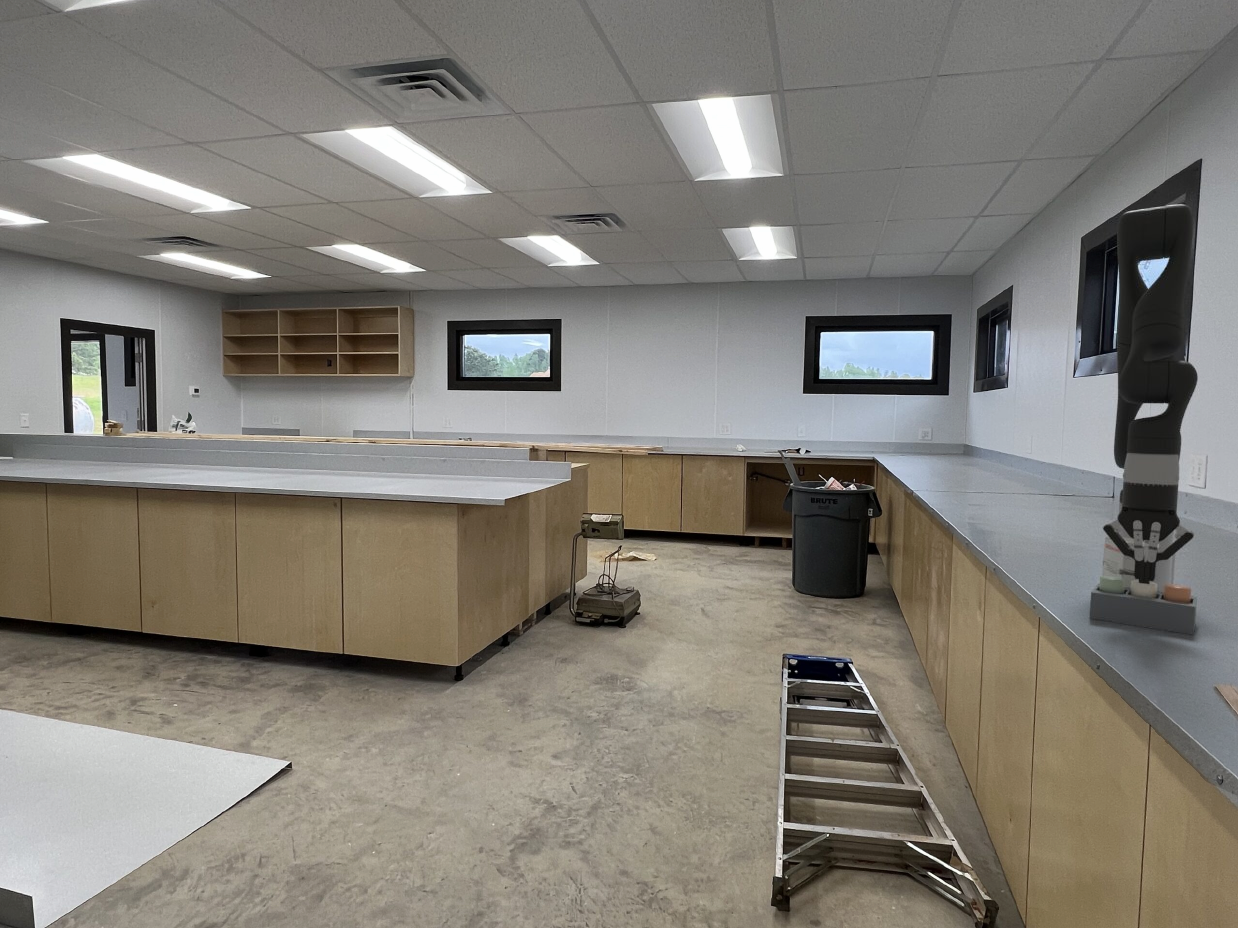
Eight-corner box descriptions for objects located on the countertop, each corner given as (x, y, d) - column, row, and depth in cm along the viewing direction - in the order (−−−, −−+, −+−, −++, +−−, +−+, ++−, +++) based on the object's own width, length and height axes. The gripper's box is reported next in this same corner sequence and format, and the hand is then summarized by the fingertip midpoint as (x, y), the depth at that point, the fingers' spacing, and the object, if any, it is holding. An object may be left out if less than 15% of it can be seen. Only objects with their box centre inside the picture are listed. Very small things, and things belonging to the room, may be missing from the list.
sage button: (1100, 592, 130) (1101, 575, 130) (1125, 595, 128) (1126, 578, 127) (1097, 595, 127) (1098, 578, 127) (1122, 599, 125) (1123, 581, 125)
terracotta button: (1163, 600, 124) (1164, 583, 124) (1190, 604, 122) (1191, 586, 122) (1162, 604, 121) (1163, 586, 121) (1189, 608, 119) (1190, 590, 119)
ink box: (1150, 609, 132) (1154, 544, 132) (1119, 607, 133) (1123, 542, 133) (1127, 598, 141) (1131, 536, 140) (1098, 596, 142) (1102, 535, 141)
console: (1096, 608, 133) (1098, 583, 132) (1195, 622, 124) (1197, 596, 123) (1089, 618, 126) (1091, 592, 125) (1193, 634, 117) (1195, 606, 116)
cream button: (1131, 596, 127) (1132, 579, 127) (1157, 599, 125) (1158, 582, 124) (1129, 600, 124) (1130, 582, 124) (1155, 603, 122) (1156, 586, 122)
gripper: (1201, 482, 122) (1194, 585, 123) (1106, 477, 130) (1100, 573, 131) (1200, 484, 116) (1192, 593, 117) (1100, 479, 124) (1094, 580, 126)
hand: (1144, 582), depth 124 cm, fingers closed
